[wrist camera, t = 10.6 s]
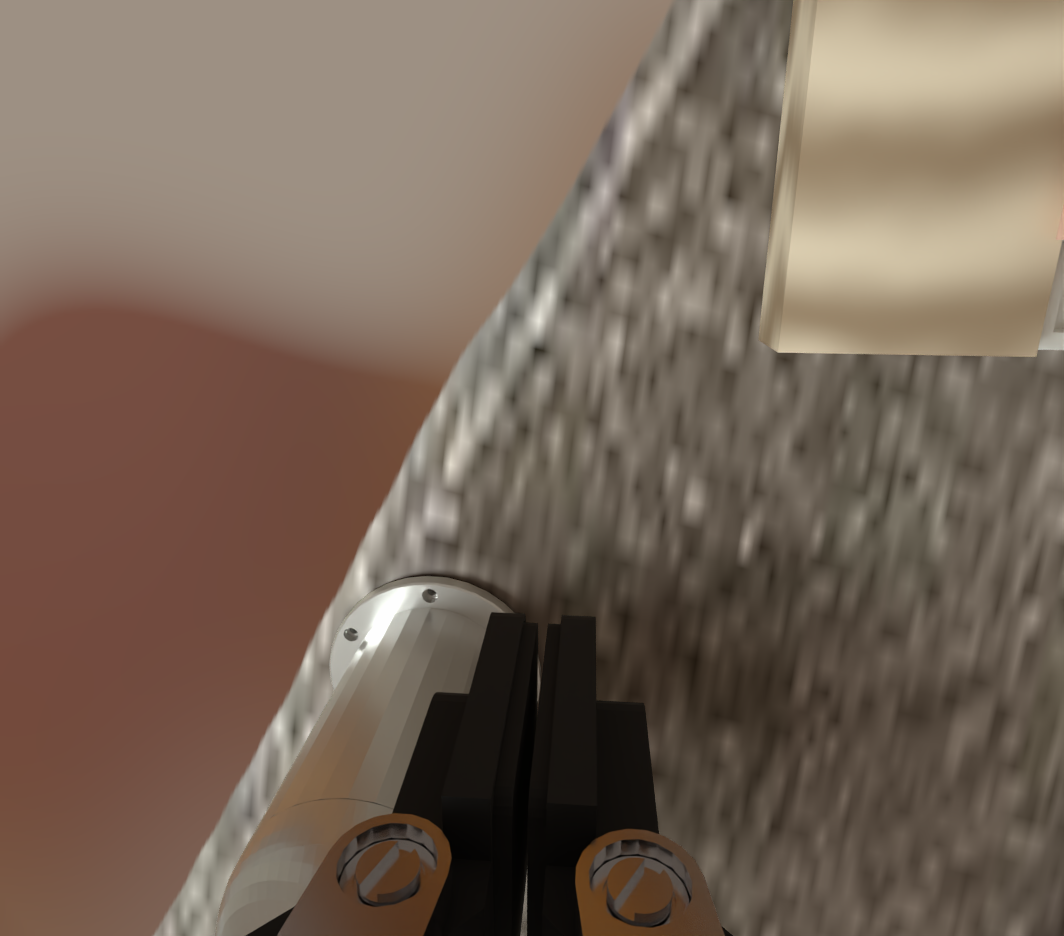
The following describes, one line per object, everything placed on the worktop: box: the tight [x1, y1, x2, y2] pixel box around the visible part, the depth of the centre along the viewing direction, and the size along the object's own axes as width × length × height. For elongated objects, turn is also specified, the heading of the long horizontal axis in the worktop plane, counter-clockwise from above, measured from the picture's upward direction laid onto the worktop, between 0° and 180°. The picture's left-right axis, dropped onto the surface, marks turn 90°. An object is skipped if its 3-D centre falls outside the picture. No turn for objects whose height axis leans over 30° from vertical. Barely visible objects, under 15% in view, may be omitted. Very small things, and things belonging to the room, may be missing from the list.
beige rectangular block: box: [759, 0, 1064, 357], centre depth 31 cm, size 16×11×4 cm
